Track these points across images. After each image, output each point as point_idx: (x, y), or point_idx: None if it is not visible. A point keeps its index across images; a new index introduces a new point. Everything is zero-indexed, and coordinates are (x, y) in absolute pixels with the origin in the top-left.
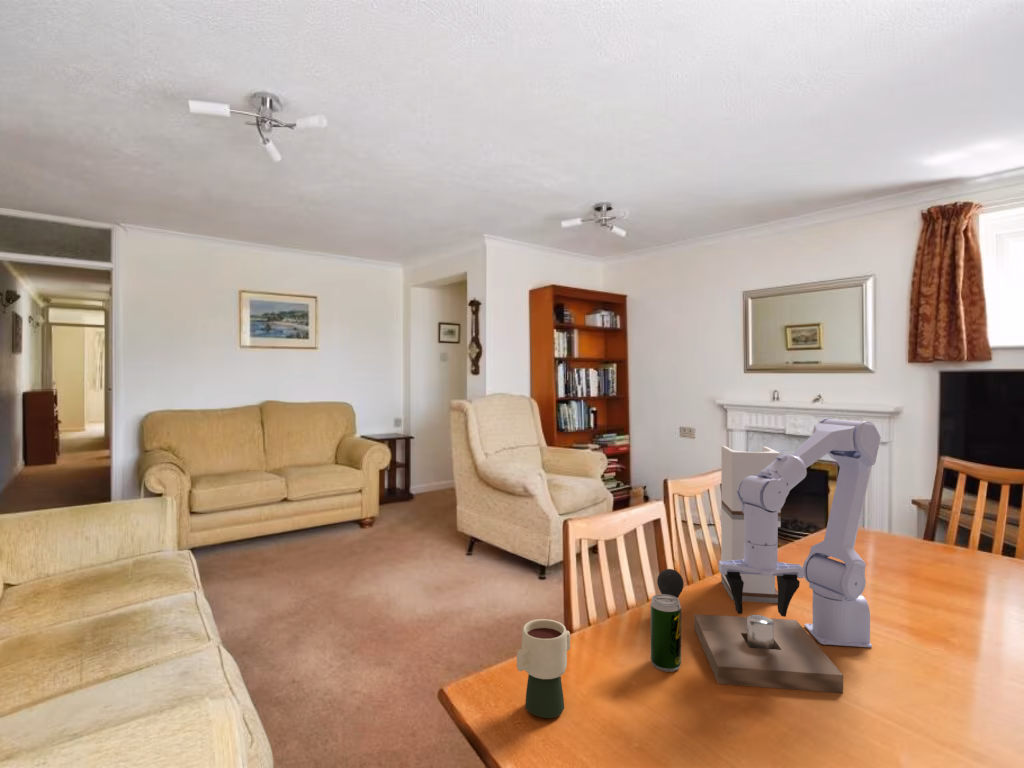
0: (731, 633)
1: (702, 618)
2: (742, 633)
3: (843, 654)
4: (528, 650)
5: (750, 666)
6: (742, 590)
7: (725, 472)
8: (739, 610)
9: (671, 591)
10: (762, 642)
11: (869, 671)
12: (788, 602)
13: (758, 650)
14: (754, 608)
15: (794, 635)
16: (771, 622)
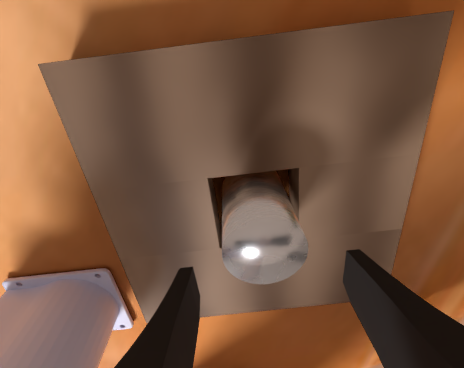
0: (323, 232)
1: None
2: None
3: (63, 243)
4: None
5: (334, 42)
6: (434, 345)
7: None
8: (367, 257)
9: None
10: (260, 187)
11: (8, 187)
12: (155, 318)
13: (276, 158)
14: (219, 357)
15: (159, 258)
16: (230, 247)
